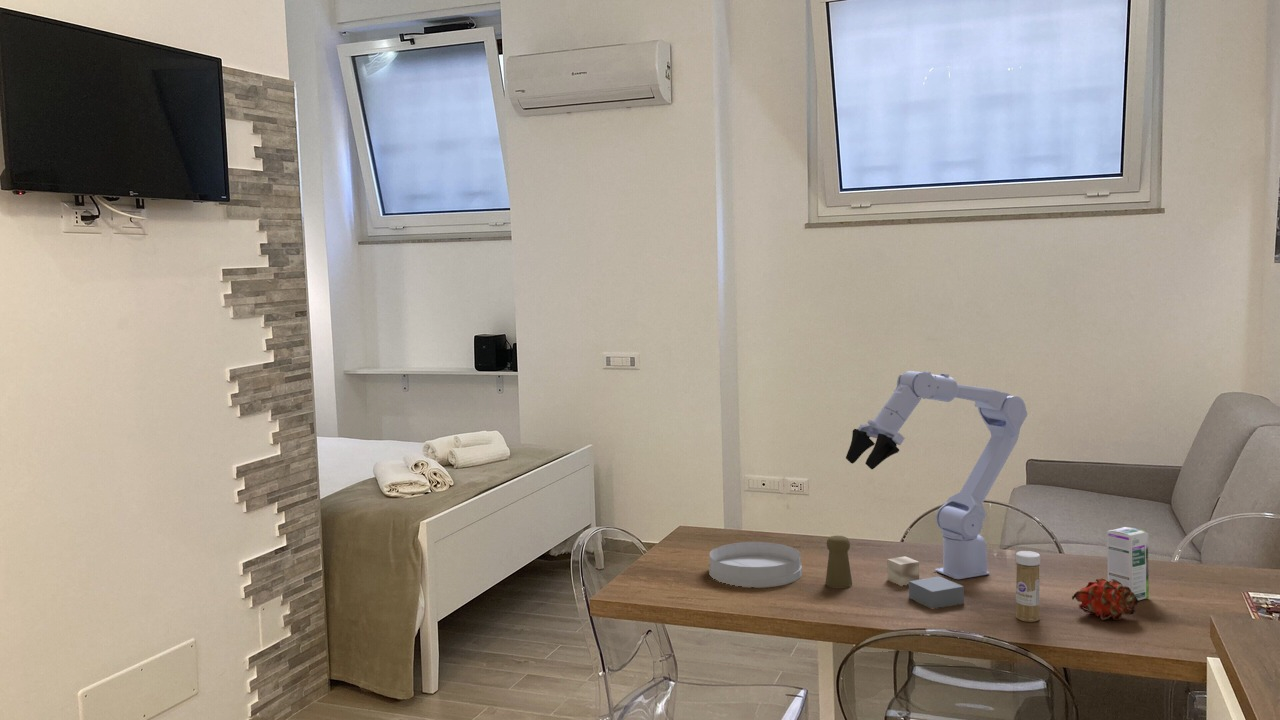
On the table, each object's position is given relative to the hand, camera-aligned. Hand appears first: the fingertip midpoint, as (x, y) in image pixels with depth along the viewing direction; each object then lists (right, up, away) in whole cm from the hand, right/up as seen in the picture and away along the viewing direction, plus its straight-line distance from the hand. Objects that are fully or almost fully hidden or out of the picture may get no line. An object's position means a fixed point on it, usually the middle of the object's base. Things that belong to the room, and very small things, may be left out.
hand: (858, 463), depth 210 cm
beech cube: (+12, -28, +7) cm, 31 cm away
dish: (-21, -29, +17) cm, 39 cm away
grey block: (+15, -29, -7) cm, 33 cm away
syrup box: (+55, -28, -8) cm, 62 cm away
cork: (-3, -28, +7) cm, 29 cm away
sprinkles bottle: (+30, -29, -19) cm, 46 cm away
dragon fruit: (+45, -29, -20) cm, 57 cm away
